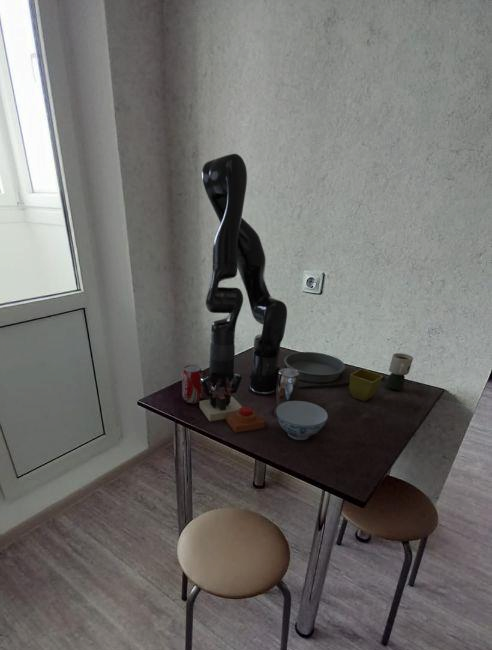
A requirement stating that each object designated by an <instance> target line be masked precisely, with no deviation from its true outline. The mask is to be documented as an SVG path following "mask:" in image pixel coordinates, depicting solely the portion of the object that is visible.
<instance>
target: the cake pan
mask: <svg viewBox="0 0 492 650" xmlns="http://www.w3.org/2000/svg"><path fill="white" fill-rule="evenodd" d="M283 361H284V364H285V365H286V368H289V369H294V370H297V371H298V372H299V380H301V381H304V382H308V383H314V384H315V383H317V384H319V383H320V384H321V383H323V384H324V383H331V382H335V381H336V380H338V379H339V378H340V376H341V373H343V372H344V371H345V369H346V364H345V363H344V362H343V361H342V360H341V359H339V358H337V357H335V356H333V355H329V354H326V353H321V352H314V351H297V352H292V353H290V354H287V355H286V357H285V358H284V359H283Z"/></svg>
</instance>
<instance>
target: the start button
mask: <svg viewBox="0 0 492 650" xmlns="http://www.w3.org/2000/svg"><path fill="white" fill-rule="evenodd" d="M252 410H253V409H252V407H250V406H246V405H245V406H242V407H241V408H240V415H242V416H251V414H252Z"/></svg>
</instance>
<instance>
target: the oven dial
mask: <svg viewBox="0 0 492 650" xmlns="http://www.w3.org/2000/svg"><path fill="white" fill-rule="evenodd" d="M224 396H225V395H223V394H222V392H221V391H218V392H217V394H216V406H217V407H218V408H219V409H220V410H221V411H222V410H226V398H225V397H224Z"/></svg>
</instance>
